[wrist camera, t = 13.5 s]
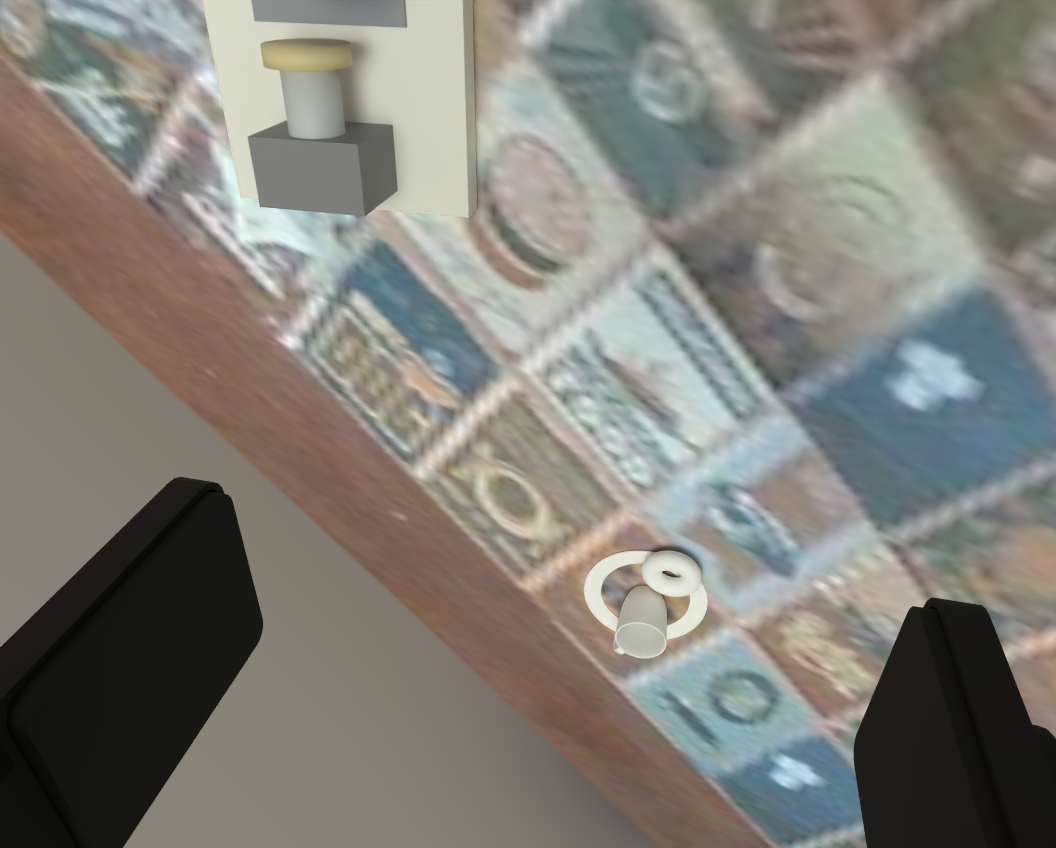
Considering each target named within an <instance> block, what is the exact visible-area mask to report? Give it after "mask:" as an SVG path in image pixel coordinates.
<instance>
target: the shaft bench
mask: <svg viewBox="0 0 1056 848" xmlns="http://www.w3.org/2000/svg"><path fill="white" fill-rule="evenodd" d="M203 6H204V11H205V16H206V21H207V26H208V32H209V37H210V42H211V47H212V52H213V57H214V63H215V68H216V73H217V78H218V83H219V88H220V94H221V99H222V104H223V109H224V114H225V120H226V125H227V130H228V135H229V140H230V145H231V151H232V156H233V161H234V166H235V171H236V176H237V182H238V187H239V192H240V197H241V198H251V199H259V204H260V207H268V208H279V209H290V210H302V211H313V212H324V213H335V214H346V215H358V216H366V215H367V214H368V213H370V212H371V211H372V210H374V209H377V210H388V211H400V212H411V213H423V214H434V215H446V216H457V217H470V215H471V214H472V213H473V212H474V211H475V210H476V209H477V177H476V130H475V82H474V35H473V0H203Z"/></svg>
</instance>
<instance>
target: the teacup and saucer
mask: <svg viewBox="0 0 1056 848" xmlns="http://www.w3.org/2000/svg"><path fill="white" fill-rule="evenodd" d="M634 563H643V565H642V576H643V578H644V580H645V582H646V583H647V584H648V586H637V587H635V588H633V589H632V590H631V591H630V592H629V594H628V595H627V597H626V599H625V601H624V603H623V606H622V609H621V612H620V616H619V618H617V617H616V616H614V615H613V614H612V613H611V612H610V611H609V610H608V609H607V607H606V606H605V604H604V602H603V600H602V596H601V586H602V583H603V581H604V579H605V578H606V576H607V575H608V574H609V573H610V572H612V571H613V570H615V569H616V568H618V567H621V566H624V565H628V564H634ZM667 570H669V571H671V572H672V573H674V574H675V575H676V576H678V577H670V576H667V575H665V574H664V573H662V571H667ZM661 594H663V595H667V596H672V597H682V596H687V595H690V605H689V609H688V611H687V612H686V614H685V615H684V616H683V617H682V618H681V619H680V620H678V621H677V622H675V623H673V624H671V625H668V626H667V613H666V605H665V601H664V599H663V596H662V595H661ZM584 595H585V600H586V603H587V605H588V607H589V609H590V610H591V612H592V613H593V614H594V616H595V617H596V618H597V619H598V620H599V621H600V622H602V623H603V624H604V625H605V626H607V627H608V628H610V629H612V630H613V631H615V632H616V633H615V639H614V643H613V649H614V651H615V652H617V653H618V654H624V653H627V654H629V655H631V656H634V657H638V658H652V657H655V656H658V655H659V654H661V653H662V652H663V651H664V650H665V648H666V642H667V640H668V639H672V638H676V637H679V636H682V635H684V634H686V633H688V632H689V631H691V630H692V629H694V628H695V627H696V626H697V625H698V624H699V623H700V622H701V620H702V619H703V617H704V615H705V613H706V610H707V605H708V598H707V592H706V589H705V587H704V585H703V583H702V574H701V570H700V568H699V566H698V565H697V563H696V562H695V561H694V560H693V559H691V558H690V557H689V556H687V555H685V554H682V553H680V552H676V551H659V552H651V551H642V550H634V551H624V552H619V553H616V554H613V555H610V556H608V557H606V558H604V559H602V560H601V561H599V562H598V563H597V564H596V565H595V566H594V567H593V568H592V569H591V570H590V572H589V573H588V575H587V577H586V580H585V584H584Z"/></svg>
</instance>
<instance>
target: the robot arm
mask: <svg viewBox="0 0 1056 848" xmlns="http://www.w3.org/2000/svg"><path fill="white" fill-rule="evenodd" d="M262 629H263V618H262V615H261V611H260V607H259V603H258V599H257V595H256V591H255V587H254V583H253V579H252V576H251V572H250V568H249V564H248V560H247V556H246V552H245V549H244V544H243V541H242V536H241V532H240V528H239V525H238V521H237V517H236V513H235V509H234V505H233V502H232V499H231V497H230V496H229V495H226V494H224V491H223V489H222V487H221V486H220V485H219V484H218V483H214V482H209V481H202V480H197V479H190V478H184V477H178V478H174V479H173V480H172V481H170V482H169V483H168V484H167V485H166V486H165V487H164V488H163V489H162V490H161V491H160V492H159V493H158V494H157V495H156V496H155V497H154V498H153V499H152V500H151V501H149V503H147V504H146V505H145V506H144V507H143V508H142V509H141V510H140V511H139V512H138V513H137V514H136V515H135V516H134V517H133V518H132V519H131V520H130V521H129V522H128V523H127V524H126V525H125V526H124V527H123V528H122V529H121V530H120V531H119V532H118V533H117V534H116V535H115V536H114V537H113V538H112V539H111V540H110V541H109V542H108V543H107V544H106V545H104V547H102V549H100V550H99V552H97V553H96V554H95V555H94V556H93V557H92V558H91V559H90V560H89V561H88V562H87V563H86V564H85V565H84V566H83V567H82V568H81V569H80V570H79V571H78V572H77V573H76V574H75V575H74V576H73V577H72V578H71V579H70V580H69V581H68V582H67V583H66V584H65V585H64V586H63V587H62V588H61V589H60V590H58V591H57V592H56V594H55V595H53V597H51V598H50V599H49V600H48V601H47V602H46V603H45V604H44V605H43V606H42V607H41V608H40V609H39V610H38V611H37V612H36V613H35V614H34V615H33V616H32V617H31V618H30V619H29V620H28V621H27V622H26V623H25V624H24V625H23V626H22V627H21V628H20V629H19V630H18V631H17V632H16V633H15V634H14V635H13V636H12V637H11V638H9V639H8V640H7V641H6V643H4V644H3V645H2V646H1V647H0V848H123V847H124V845H125V844H126V842H127V840H128V839H129V838H130V836H131V835H132V833H133V832H134V830H135V828H136V827H137V826H138V824H139V822H140V821H141V819H142V818H143V816H144V815H145V813H146V812H147V810H148V809H149V807H150V806H151V804H152V803H153V801H154V800H155V798H156V797H157V795H158V794H159V792H160V791H161V789H162V788H163V786H164V785H165V783H166V782H167V780H168V779H169V777H170V776H171V774H172V773H173V771H174V770H175V768H176V767H177V765H178V764H179V762H180V761H181V759H182V758H183V756H184V755H185V753H186V751H187V750H188V749H189V747H190V746H191V744H192V743H193V741H194V739H195V738H196V736H197V735H198V733H199V732H200V730H201V729H202V727H203V726H204V724H205V723H206V721H207V720H208V718H209V717H210V715H211V714H212V712H213V711H214V709H215V708H216V706H217V705H218V703H219V702H220V700H221V699H222V697H223V696H224V694H225V693H226V691H227V690H228V688H229V687H230V685H231V684H232V682H233V681H234V679H235V678H236V676H237V675H238V673H239V672H240V670H241V669H242V667H243V666H244V664H245V662H246V661H247V659H248V658H249V656H250V655H251V653H252V652H253V650H254V649H255V647H256V646H257V644H258V642H259V640H260V637H261V634H262ZM854 766H855V773H856V779H857V786H858V792H859V798H860V805H861V811H862V818H863V824H864V831H865V837H866V843H867V848H1056V739H1055V737H1054V736H1053V735H1052V734H1051V733H1050V732H1049V731H1048V730H1047V729H1046V728H1043V727H1040V726H1037V725H1032V723H1031V721H1030V718H1029V716H1028V713H1027V710H1026V708H1025V705H1024V703H1023V700H1022V698H1021V695H1020V692H1019V690H1018V687H1017V685H1016V682H1015V680H1014V677H1013V674H1012V672H1011V669H1010V667H1009V664H1008V662H1007V659H1006V656H1005V654H1004V651H1003V649H1002V646H1001V644H1000V641H999V639H998V636H997V633H996V631H995V628H994V626H993V623H992V621H991V618H990V616H989V614H988V612H987V610H986V609H985V608H984V607H983V606H982V605H976V604H970V603H964V602H958V601H951V600H945V599H939V598H930V599H929V600H928V601H927V602H926V604H925V605H924V607H923V608H921V607H914V606H912V607H911V608H910V609H909V611H908V613H907V615H906V617H905V620H904V622H903V625H902V627H901V629H900V632H899V634H898V637H897V639H896V641H895V644H894V646H893V648H892V651H891V653H890V656H889V658H888V660H887V663H886V665H885V668H884V670H883V672H882V675H881V677H880V679H879V682H878V684H877V687H876V689H875V691H874V694H873V696H872V698H871V701H870V703H869V706H868V708H867V710H866V713H865V715H864V718H863V720H862V722H861V725H860V727H859V729H858V732H857V735H856V738H855V743H854Z"/></svg>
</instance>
